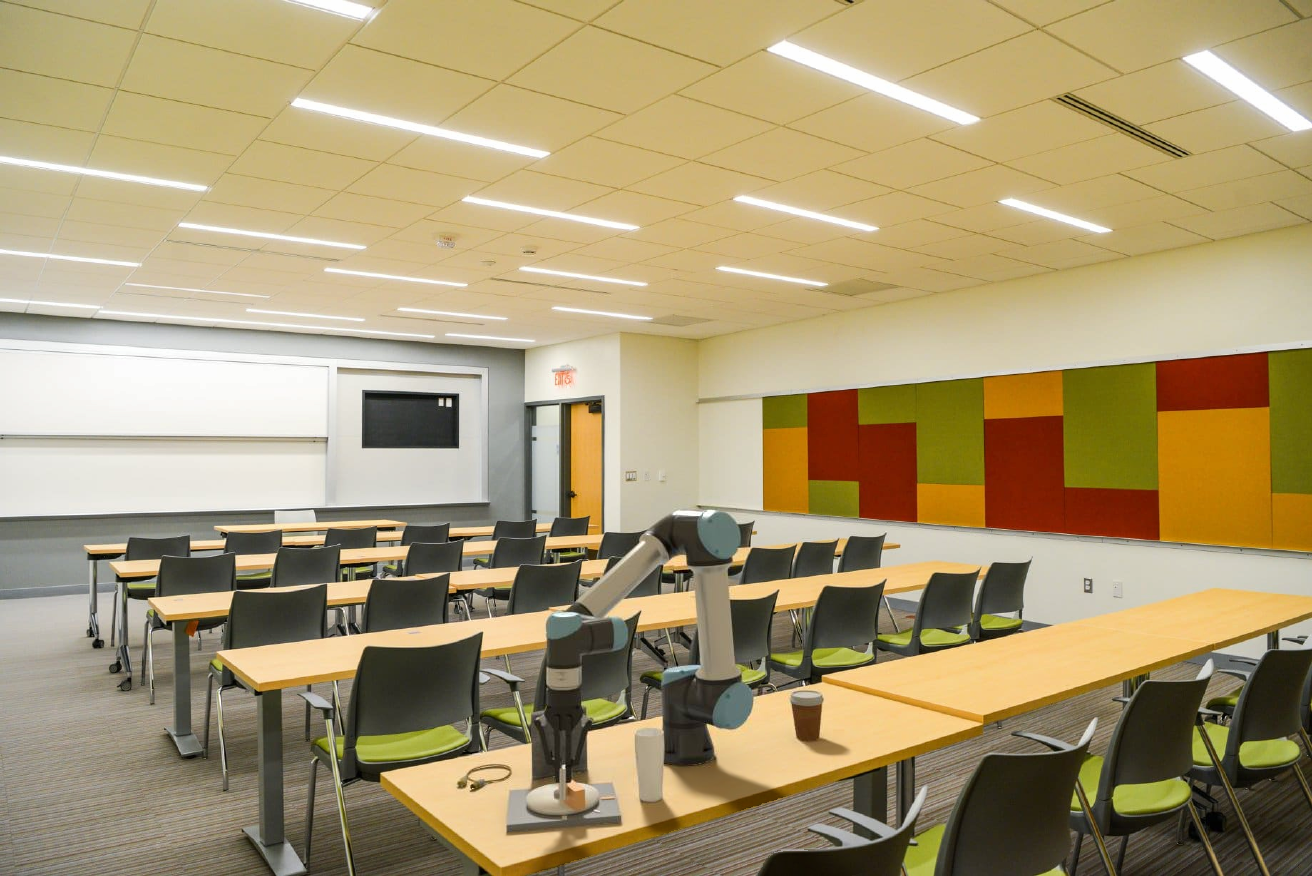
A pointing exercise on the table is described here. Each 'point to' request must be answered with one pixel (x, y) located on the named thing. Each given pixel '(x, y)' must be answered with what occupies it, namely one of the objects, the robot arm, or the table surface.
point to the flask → (538, 758)
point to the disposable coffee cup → (807, 713)
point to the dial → (550, 803)
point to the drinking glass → (650, 763)
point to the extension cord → (480, 782)
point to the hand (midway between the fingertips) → (563, 797)
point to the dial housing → (530, 820)
